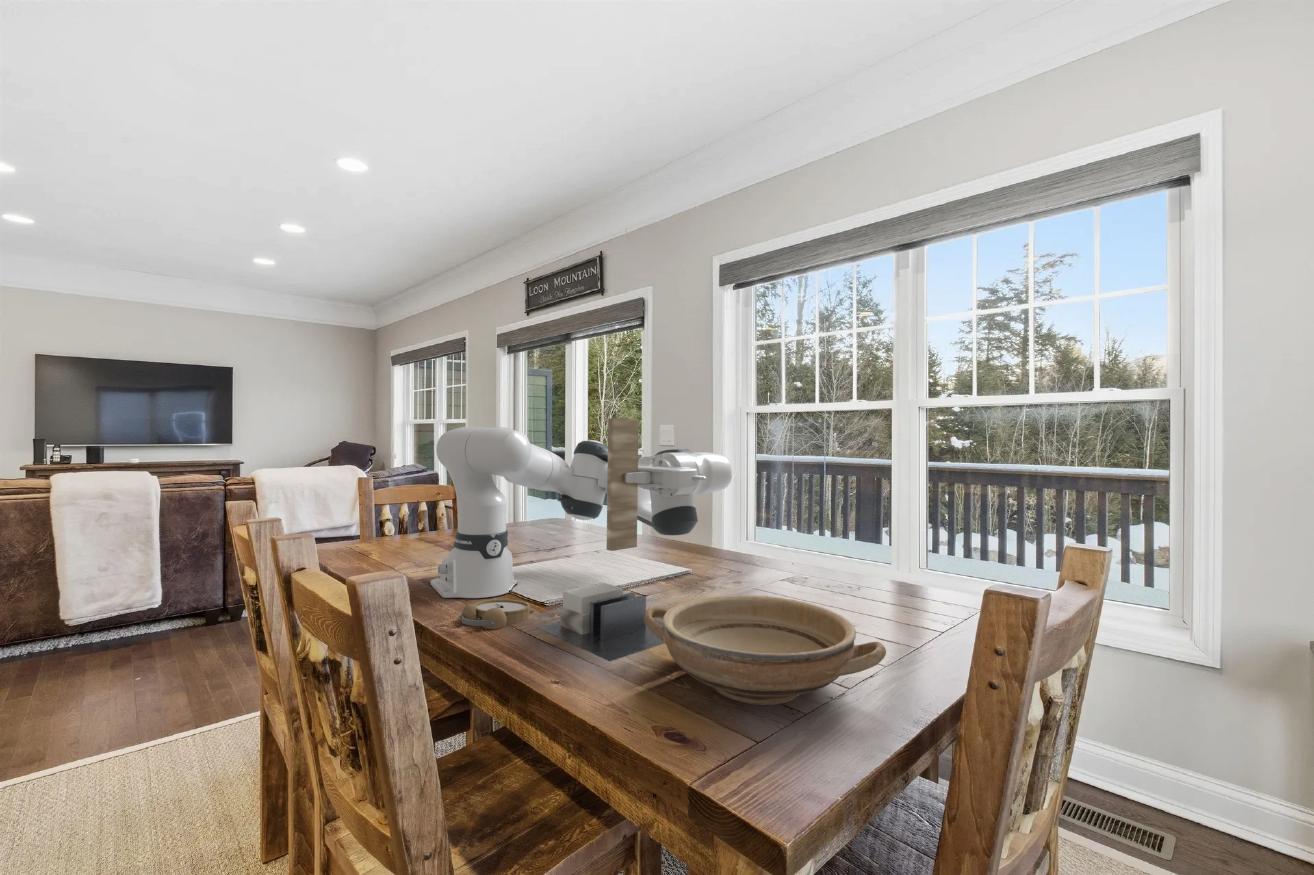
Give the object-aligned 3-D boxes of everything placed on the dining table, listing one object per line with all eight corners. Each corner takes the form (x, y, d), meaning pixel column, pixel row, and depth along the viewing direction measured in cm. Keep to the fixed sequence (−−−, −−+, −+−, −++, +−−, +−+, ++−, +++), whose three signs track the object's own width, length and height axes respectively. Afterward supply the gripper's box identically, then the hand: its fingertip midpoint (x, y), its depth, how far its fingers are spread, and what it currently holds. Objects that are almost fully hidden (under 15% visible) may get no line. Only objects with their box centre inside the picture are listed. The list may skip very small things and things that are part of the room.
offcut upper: (562, 606, 113) (563, 591, 113) (603, 597, 120) (604, 582, 120) (581, 614, 109) (581, 597, 109) (622, 603, 116) (623, 588, 116)
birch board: (606, 549, 108) (608, 418, 108) (631, 545, 112) (633, 419, 112) (612, 551, 107) (613, 418, 107) (636, 547, 111) (638, 419, 111)
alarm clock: (542, 604, 121) (492, 610, 108) (539, 629, 120) (489, 638, 107) (499, 597, 126) (447, 601, 113) (496, 620, 125) (443, 628, 112)
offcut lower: (560, 625, 113) (560, 607, 113) (609, 613, 121) (609, 596, 121) (582, 634, 108) (582, 615, 108) (631, 621, 116) (632, 603, 116)
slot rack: (536, 632, 112) (537, 595, 112) (618, 611, 125) (618, 578, 125) (609, 667, 96) (610, 624, 96) (694, 638, 109) (694, 601, 109)
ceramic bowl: (600, 697, 85) (601, 627, 85) (681, 637, 111) (682, 583, 110) (872, 764, 68) (873, 678, 68) (894, 675, 94) (895, 612, 94)
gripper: (711, 494, 111) (657, 499, 101) (638, 486, 126) (586, 490, 116) (711, 461, 111) (658, 462, 101) (638, 456, 125) (586, 458, 116)
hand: (619, 477), depth 109 cm, fingers closed on birch board, 2 cm apart
